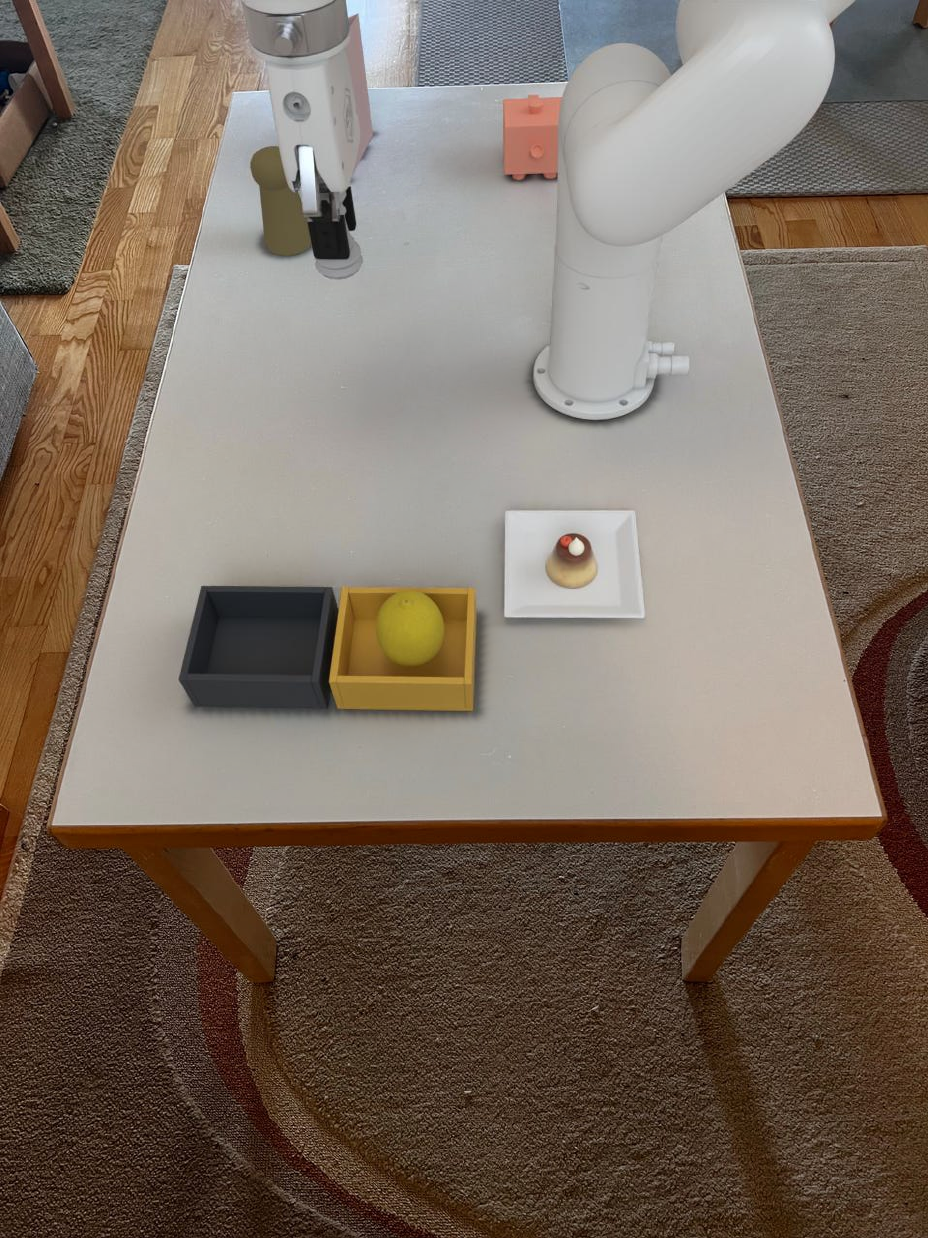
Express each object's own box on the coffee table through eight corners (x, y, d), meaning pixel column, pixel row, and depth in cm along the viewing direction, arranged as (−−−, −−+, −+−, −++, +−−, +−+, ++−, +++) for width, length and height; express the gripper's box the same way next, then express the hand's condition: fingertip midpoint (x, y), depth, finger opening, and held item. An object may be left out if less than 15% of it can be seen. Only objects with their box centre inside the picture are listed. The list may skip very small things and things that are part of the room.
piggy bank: (505, 196, 115) (505, 131, 108) (502, 145, 122) (502, 80, 115) (567, 194, 115) (570, 128, 108) (561, 143, 121) (564, 78, 115)
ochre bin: (476, 617, 79) (475, 587, 76) (473, 711, 74) (471, 683, 71) (349, 616, 80) (341, 586, 76) (337, 709, 75) (328, 681, 71)
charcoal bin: (340, 616, 80) (332, 586, 76) (327, 709, 75) (318, 681, 71) (215, 615, 81) (201, 585, 77) (194, 706, 75) (178, 679, 72)
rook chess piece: (307, 275, 84) (290, 193, 77) (330, 248, 86) (315, 166, 79) (350, 286, 83) (336, 203, 76) (372, 258, 85) (360, 175, 78)
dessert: (505, 517, 86) (505, 483, 82) (633, 517, 85) (639, 483, 81) (504, 624, 79) (504, 592, 75) (643, 625, 78) (651, 592, 74)
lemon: (425, 694, 75) (418, 642, 68) (369, 666, 76) (356, 613, 70) (459, 644, 77) (455, 589, 71) (404, 618, 79) (394, 562, 72)
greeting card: (369, 132, 125) (353, 10, 112) (403, 152, 122) (392, 29, 109) (302, 165, 121) (279, 43, 108) (336, 187, 117) (316, 64, 105)
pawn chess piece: (305, 257, 109) (287, 169, 100) (258, 253, 110) (236, 165, 101) (320, 228, 113) (303, 140, 103) (273, 224, 113) (253, 136, 104)
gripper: (331, 74, 62) (365, 301, 78) (361, -31, 71) (387, 191, 87) (224, 75, 63) (279, 300, 78) (268, -29, 72) (309, 191, 87)
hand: (335, 241), depth 82 cm, fingers closed on rook chess piece, 3 cm apart
